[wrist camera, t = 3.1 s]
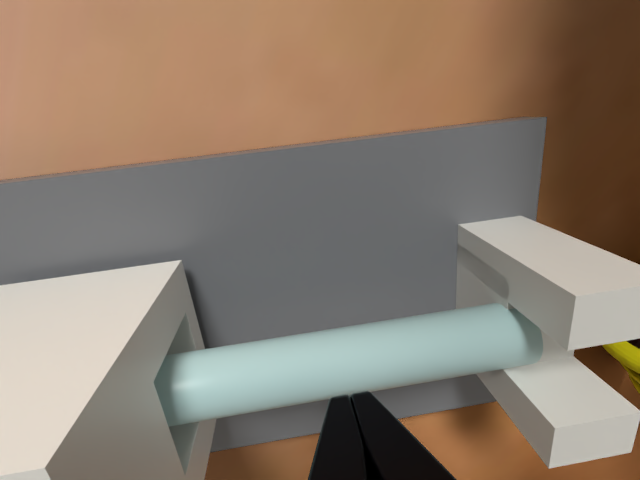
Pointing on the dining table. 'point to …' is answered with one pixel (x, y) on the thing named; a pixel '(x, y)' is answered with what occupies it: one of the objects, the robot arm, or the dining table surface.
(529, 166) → the linear slide rail
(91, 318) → the white square tube
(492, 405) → the dining table surface
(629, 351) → the opera glasses
